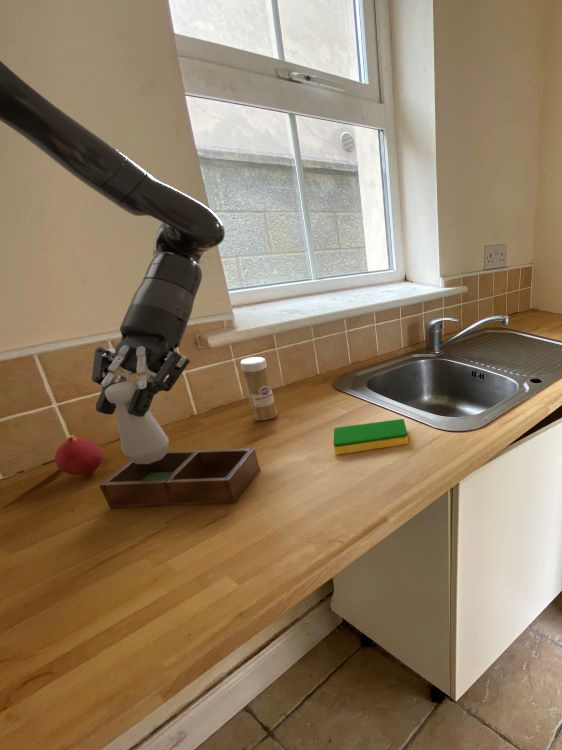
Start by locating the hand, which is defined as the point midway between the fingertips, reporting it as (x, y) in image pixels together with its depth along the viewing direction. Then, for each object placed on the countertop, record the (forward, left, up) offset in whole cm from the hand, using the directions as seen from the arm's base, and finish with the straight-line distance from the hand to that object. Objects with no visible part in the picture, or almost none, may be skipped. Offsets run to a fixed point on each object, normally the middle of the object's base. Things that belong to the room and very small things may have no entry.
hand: (120, 413), depth 67 cm
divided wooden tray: (+5, +2, -15) cm, 16 cm away
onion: (-14, +7, -15) cm, 22 cm away
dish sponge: (+32, +16, -15) cm, 39 cm away
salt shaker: (0, +2, -9) cm, 9 cm away
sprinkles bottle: (+7, +28, -15) cm, 33 cm away
